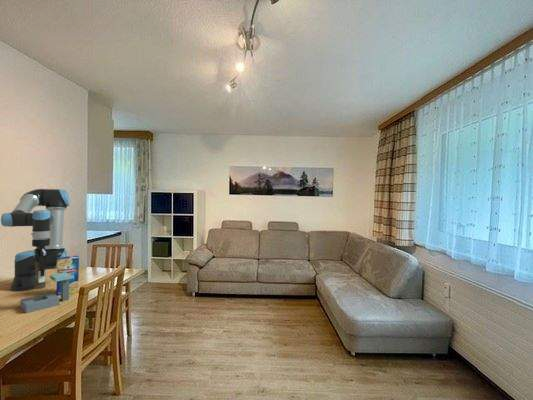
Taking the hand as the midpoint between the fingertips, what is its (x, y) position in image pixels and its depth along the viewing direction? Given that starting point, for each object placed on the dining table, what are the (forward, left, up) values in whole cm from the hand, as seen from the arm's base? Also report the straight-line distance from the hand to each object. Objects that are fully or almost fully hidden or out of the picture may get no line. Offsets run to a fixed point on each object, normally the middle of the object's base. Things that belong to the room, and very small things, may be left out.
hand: (40, 281), depth 150 cm
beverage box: (-12, +17, -14) cm, 25 cm away
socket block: (0, 0, -14) cm, 14 cm away
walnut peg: (0, 0, -4) cm, 4 cm away
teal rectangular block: (0, +9, -14) cm, 17 cm away
